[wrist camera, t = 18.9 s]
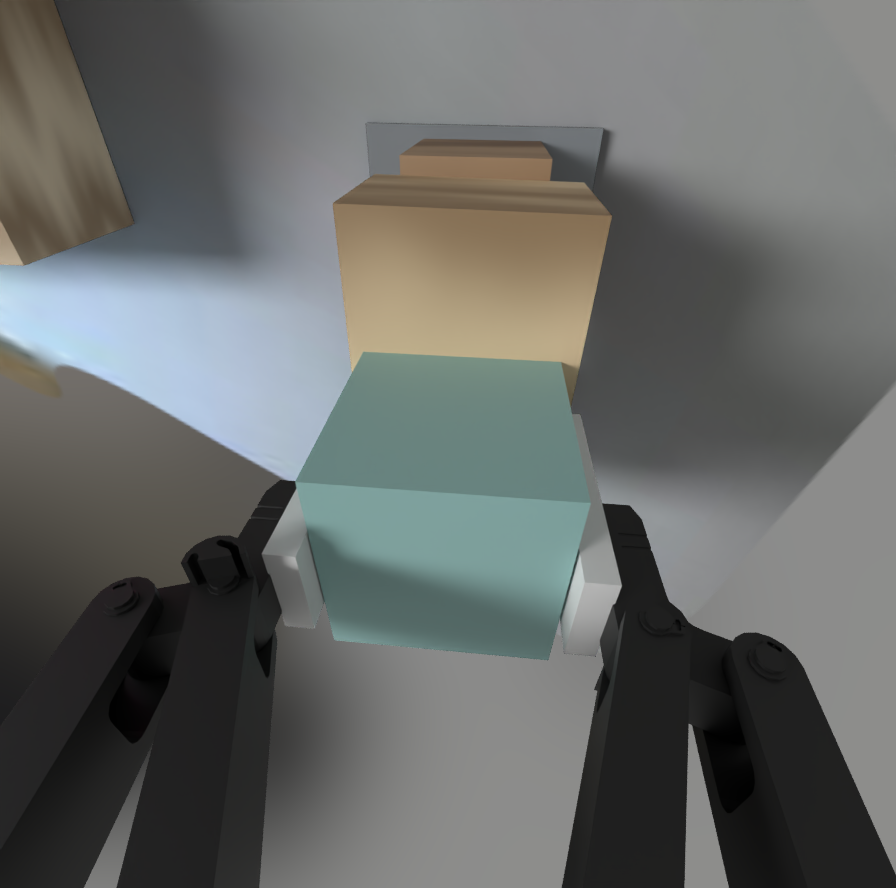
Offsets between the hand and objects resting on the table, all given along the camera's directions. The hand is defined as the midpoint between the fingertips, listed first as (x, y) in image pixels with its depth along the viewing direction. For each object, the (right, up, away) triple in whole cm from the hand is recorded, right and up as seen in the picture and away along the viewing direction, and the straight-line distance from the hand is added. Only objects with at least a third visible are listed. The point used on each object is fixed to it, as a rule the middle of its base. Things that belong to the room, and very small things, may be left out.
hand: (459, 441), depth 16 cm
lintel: (0, +3, +4) cm, 5 cm away
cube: (0, 0, 0) cm, 0 cm away
